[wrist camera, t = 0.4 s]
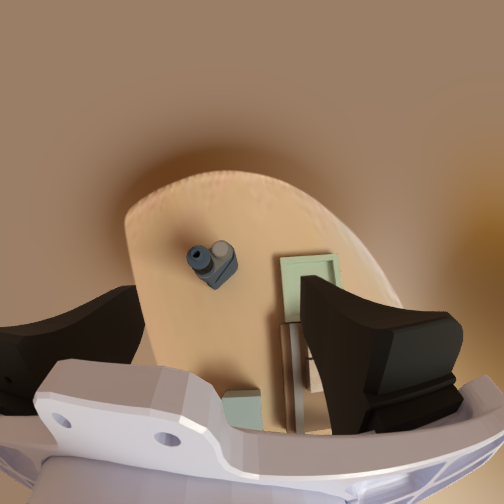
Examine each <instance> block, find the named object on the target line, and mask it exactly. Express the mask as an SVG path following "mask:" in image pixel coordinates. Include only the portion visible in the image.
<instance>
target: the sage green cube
mask: <svg viewBox="0 0 504 504" xmlns="http://www.w3.org/2000/svg"><path fill="white" fill-rule="evenodd" d="M222 404H223V409H224V414H225V418H226V420H227V422H228V424H229V425H230V426H233V427H239V428H246V429H253V430H261V431H263V423H262V408H261V394H260V389H255V390H233V391H226V392H225V393H224V395H223V397H222Z"/></svg>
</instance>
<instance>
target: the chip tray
mask: <svg viewBox="0 0 504 504" xmlns="http://www.w3.org/2000/svg"><path fill="white" fill-rule="evenodd" d="M279 261H280V272H281V283H282V294H283V306H284V318H285V323H292V322H301V321H300V276H306V275H317V276H319V277H321V278H323V279H325V280H326V281H328V282H330V283H332V284H334V285H336V286H338V287H339V288H341V289H342V281H341V274H340V267H339V260H338V254H326V255H312V256H297V257H282V258H280V260H279Z"/></svg>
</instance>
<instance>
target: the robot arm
mask: <svg viewBox="0 0 504 504" xmlns="http://www.w3.org/2000/svg"><path fill="white" fill-rule="evenodd" d="M300 321H301V326H302V330H303V334H304V337H305V340H306V342H307V345H308V348H309V350H310V353H311V355H312V358H313V360H314V363H315V365H316V368H317V370H318V373H319V376H320V379H321V383H322V387H323V391H324V395H325V399H326V404H327V409H328V413H329V418H330V424H331V429H332V435H311V434H293V433H280V432H270V431H261V430H253V429H246V428H239V427H233V426H230V425H229V424H228V422H227V420H226V418H225V414H224V409H223V404H222V400H221V399H220V397H219V396H218V394H217V392H216V391H215V389H214V388H213V386H212V385H211V384H210V383H208V382H206V381H205V380H203V379H201V378H200V377H198V376H196V375H195V374H193V373H191V372H190V371H184V370H179V369H175V368H170V367H165V366H148V365H130V364H131V362H132V360H133V357H134V355H135V353H136V351H137V349H138V346H139V344H140V341H141V338H142V335H143V331H144V327H145V322H144V318H143V314H142V310H141V306H140V302H139V298H138V294H137V290H136V285H131V286H130V285H129V286H121V287H118V288H115V289H114V290H111V291H109V292H107V293H105V294H103V295H101V296H99V297H97V298H95V299H94V300H92V301H90V302H88V303H86V304H83V305H81V306H79V307H77V308H75V309H73V310H71V311H68V312H66V313H63V314H61V315H58V316H55V317H52V318H49V319H46V320H42V321H39V322H34V323H30V324H25V325H19V326H11V327H0V470H1V471H2V472H4V473H5V474H7V475H8V476H10V477H11V478H13V479H14V480H16V481H18V482H19V483H21V484H22V485H24V486H26V487H27V488H29V489H30V490H32V492H31V494H30V497H29V499H28V502H27V504H416V503H418V502H420V501H422V500H424V499H426V498H428V497H430V496H432V495H433V494H435V493H437V492H439V491H441V490H442V489H444V488H446V487H447V486H449V485H451V484H453V483H455V482H456V481H458V480H459V479H461V478H463V477H464V476H466V475H467V474H469V473H471V472H473V471H474V470H476V469H477V468H479V467H480V466H482V465H483V464H485V463H486V462H487V461H488V460H489V459H490V458H491V457H492V456H493V455H494V454H495V452H496V451H497V450H498V449H499V448H500V447H501V446H502V444H503V443H504V394H503V393H502V392H501V390H500V389H499V388H498V387H497V386H496V385H495V384H494V382H493V381H492V380H491V379H490V378H489V377H488V376H487V374H486V375H483V376H481V377H479V378H477V379H475V380H472V381H470V382H468V383H466V384H465V385H463V386H462V387H461V388H460V389H459V390H457V388H456V387H455V386H454V385H453V384H454V383H455V381H456V377H455V376H454V375H453V373H452V372H451V371H452V369H453V366H454V364H455V362H456V359H457V357H458V354H459V352H460V349H461V345H462V342H463V329H462V326H461V325H460V324H459V323H458V322H457V321H456V320H455V319H454V318H453V317H452V316H451V315H450V314H449V313H448V312H434V311H415V310H406V309H400V308H395V307H390V306H386V305H382V304H378V303H375V302H372V301H369V300H366V299H363V298H361V297H358V296H356V295H354V294H352V293H349V292H347V291H345V290H343V289H341V288H339V287H338V286H336V285H334V284H332V283H330V282H328V281H326V280H325V279H323V278H321V277H319V276H317V275H306V276H300Z"/></svg>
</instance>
